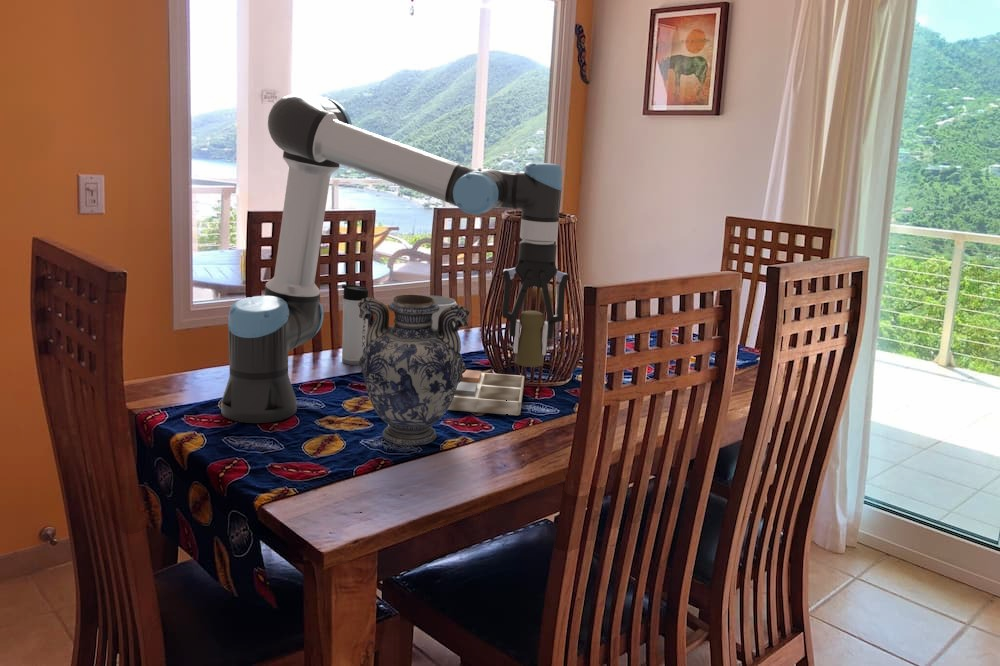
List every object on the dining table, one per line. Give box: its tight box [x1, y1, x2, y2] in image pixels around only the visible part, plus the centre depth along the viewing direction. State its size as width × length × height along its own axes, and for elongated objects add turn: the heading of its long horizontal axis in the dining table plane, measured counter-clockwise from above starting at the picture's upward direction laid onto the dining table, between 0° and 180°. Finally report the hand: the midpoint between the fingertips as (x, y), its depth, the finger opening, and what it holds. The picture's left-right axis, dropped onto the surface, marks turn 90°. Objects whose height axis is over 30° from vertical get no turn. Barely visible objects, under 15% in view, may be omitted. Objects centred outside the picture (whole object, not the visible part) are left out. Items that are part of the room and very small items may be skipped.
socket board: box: [447, 369, 525, 416], centre depth 190 cm, size 16×20×4 cm
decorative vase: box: [358, 294, 470, 447], centre depth 161 cm, size 21×19×28 cm
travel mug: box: [341, 284, 369, 366], centre depth 210 cm, size 6×7×20 cm
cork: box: [514, 310, 546, 368], centre depth 171 cm, size 6×6×11 cm
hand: (529, 352), depth 172 cm, fingers closed on cork, 5 cm apart
